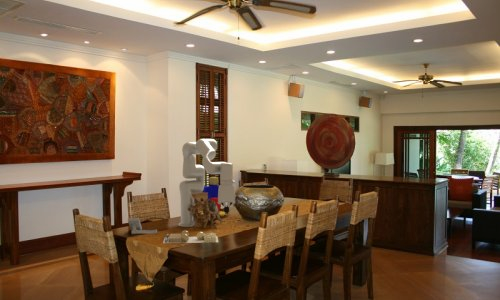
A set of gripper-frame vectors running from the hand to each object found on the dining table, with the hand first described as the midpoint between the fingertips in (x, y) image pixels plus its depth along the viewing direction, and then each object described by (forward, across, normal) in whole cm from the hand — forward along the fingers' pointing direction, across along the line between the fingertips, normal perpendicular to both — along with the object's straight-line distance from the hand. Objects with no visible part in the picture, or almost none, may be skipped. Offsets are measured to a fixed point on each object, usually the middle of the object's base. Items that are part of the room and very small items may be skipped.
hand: (226, 213), depth 254 cm
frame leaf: (+15, +29, -1) cm, 33 cm away
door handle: (+16, +52, -25) cm, 60 cm away
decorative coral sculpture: (+15, +13, -43) cm, 47 cm away
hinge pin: (+15, +36, -1) cm, 39 cm away
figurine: (+15, +4, -86) cm, 87 cm away
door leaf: (+15, +11, -1) cm, 19 cm away
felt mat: (+16, +21, -1) cm, 27 cm away
